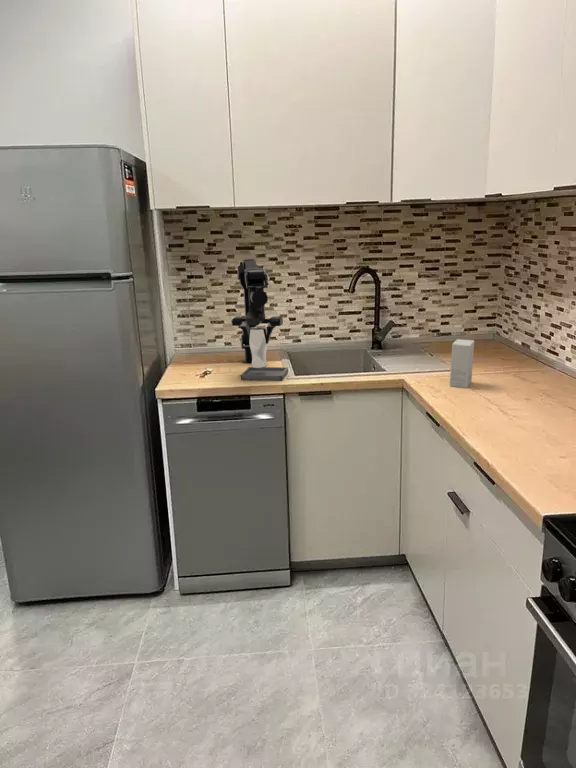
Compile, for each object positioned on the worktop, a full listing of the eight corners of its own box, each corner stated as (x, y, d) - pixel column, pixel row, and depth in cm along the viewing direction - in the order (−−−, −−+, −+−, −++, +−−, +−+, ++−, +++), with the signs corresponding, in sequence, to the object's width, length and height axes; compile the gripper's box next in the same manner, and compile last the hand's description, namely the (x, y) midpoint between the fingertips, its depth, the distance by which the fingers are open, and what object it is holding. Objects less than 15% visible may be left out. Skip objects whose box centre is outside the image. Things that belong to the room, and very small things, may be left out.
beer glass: (265, 368, 224) (264, 329, 220) (248, 368, 226) (246, 329, 222) (270, 364, 231) (268, 326, 227) (253, 364, 232) (251, 326, 228)
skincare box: (454, 380, 215) (456, 338, 210) (473, 382, 212) (475, 340, 207) (449, 386, 207) (451, 343, 203) (468, 388, 204) (470, 344, 200)
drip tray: (249, 371, 237) (248, 366, 236) (288, 372, 234) (288, 367, 233) (240, 380, 224) (240, 375, 224) (282, 381, 221) (281, 375, 221)
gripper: (226, 305, 216) (228, 347, 220) (276, 305, 212) (277, 348, 216) (234, 301, 226) (237, 341, 230) (282, 301, 223) (283, 342, 227)
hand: (258, 343), depth 226 cm, fingers closed on beer glass, 7 cm apart
